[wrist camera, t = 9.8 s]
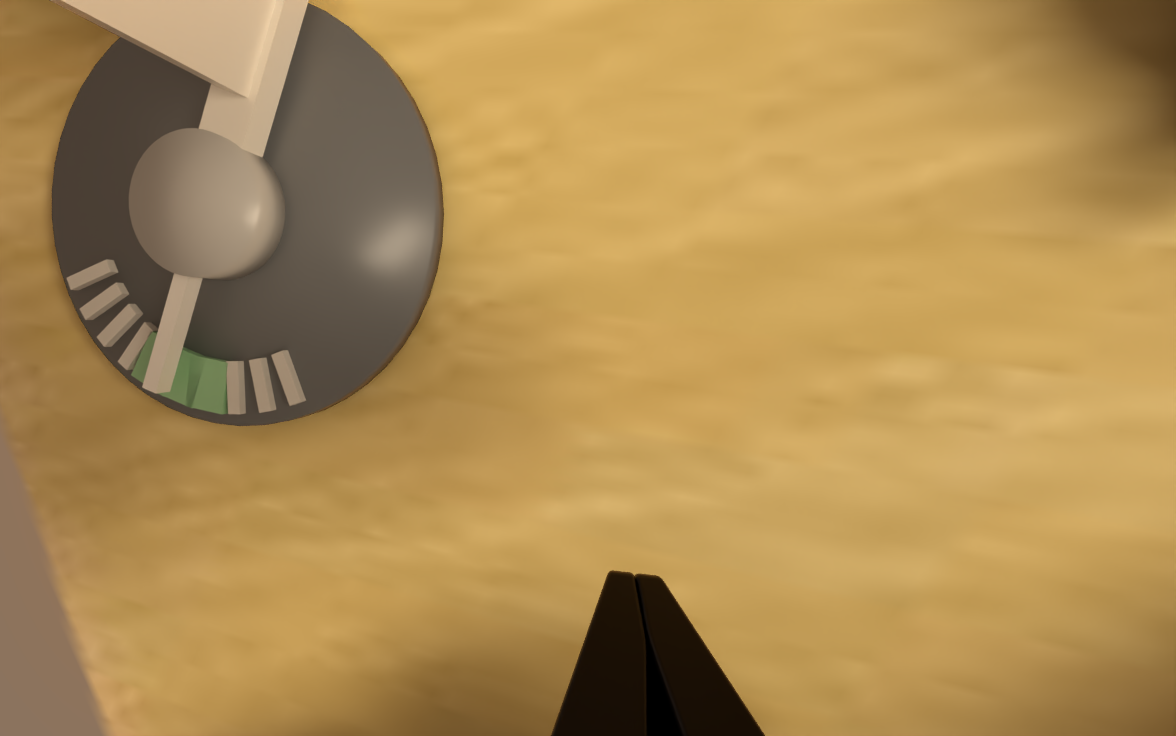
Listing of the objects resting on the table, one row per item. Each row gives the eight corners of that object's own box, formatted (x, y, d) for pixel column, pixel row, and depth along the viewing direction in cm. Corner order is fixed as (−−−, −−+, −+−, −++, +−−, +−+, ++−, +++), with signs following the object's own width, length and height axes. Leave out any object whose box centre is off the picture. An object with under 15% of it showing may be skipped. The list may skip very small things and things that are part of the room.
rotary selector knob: (227, 412, 22) (-149, 483, 12) (118, 363, 22) (-326, 392, 13) (376, -78, 19) (62, -490, 10) (250, -117, 20) (-165, -543, 10)
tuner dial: (417, 454, 22) (404, 461, 21) (62, 388, 24) (33, 390, 23) (468, 14, 20) (456, -4, 19) (84, -11, 23) (54, -28, 22)
